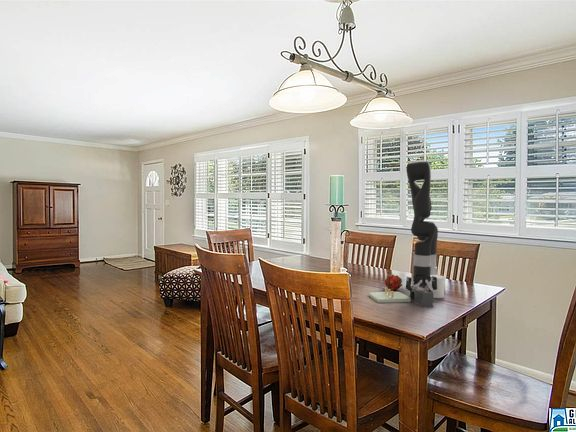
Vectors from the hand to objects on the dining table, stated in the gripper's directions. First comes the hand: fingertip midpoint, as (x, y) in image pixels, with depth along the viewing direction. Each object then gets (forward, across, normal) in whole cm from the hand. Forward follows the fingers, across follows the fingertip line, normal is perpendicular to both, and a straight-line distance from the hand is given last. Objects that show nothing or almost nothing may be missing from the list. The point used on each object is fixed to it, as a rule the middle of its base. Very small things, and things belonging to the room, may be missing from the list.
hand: (420, 299), depth 168 cm
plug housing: (+2, 0, 0) cm, 2 cm away
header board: (+2, +12, -8) cm, 15 cm away
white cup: (+2, -13, -9) cm, 16 cm away
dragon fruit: (+2, +3, -23) cm, 23 cm away
